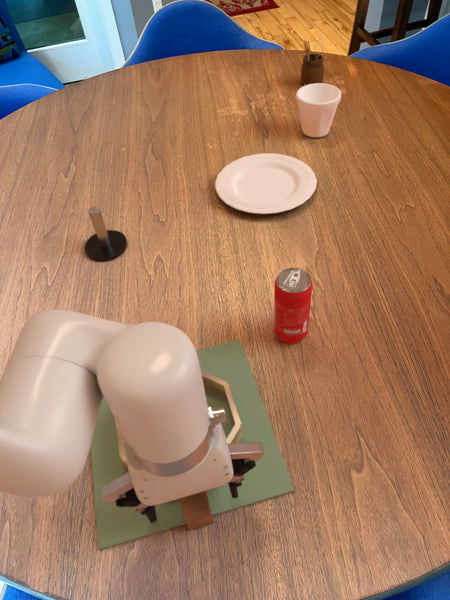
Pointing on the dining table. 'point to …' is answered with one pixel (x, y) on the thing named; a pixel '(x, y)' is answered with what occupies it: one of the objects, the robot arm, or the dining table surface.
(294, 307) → the beverage can
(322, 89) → the cup
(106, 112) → the dining table surface
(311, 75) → the utensil holder
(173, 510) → the mat
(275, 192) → the plate
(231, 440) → the hoop
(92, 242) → the post stand
